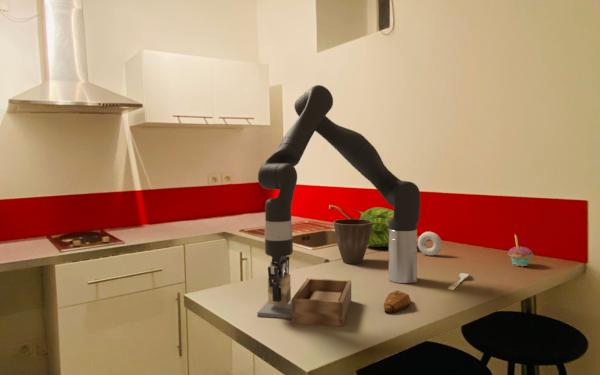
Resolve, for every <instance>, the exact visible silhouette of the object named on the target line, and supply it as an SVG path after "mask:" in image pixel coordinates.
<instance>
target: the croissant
mask: <svg viewBox="0 0 600 375" xmlns="http://www.w3.org/2000/svg"><path fill="white" fill-rule="evenodd" d="M410 302H411V297H410V295H409V294H408V293H405V292H402V291H401V290H395V291H392V292H389V293H388V294H387V296H386V298H385V299H384V303H383V310H384V313H387V314H392V313H396V312H399V311H401V310H403V309H405V308H406V307H407V306H408V305H409V304H410Z"/></svg>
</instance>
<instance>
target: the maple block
mask: <svg viewBox="0 0 600 375" xmlns="http://www.w3.org/2000/svg"><path fill="white" fill-rule="evenodd" d="M279 276H280V275H279ZM274 283H276V280H274ZM291 285H292V284H291V274H289V275H288V274H287V275H284V278H283V279H282V280H281V301H280V302H274V301H273V290H272V287H269V277H268V278H267V288H268V289H267V297H268V300H267V301H268V304H276V305H287V304H288V302H289V301H290V300H291V299H292V297H291V296H292V295H291V292H292V291H291V289H292V287H291Z"/></svg>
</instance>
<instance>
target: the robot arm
mask: <svg viewBox="0 0 600 375" xmlns="http://www.w3.org/2000/svg"><path fill="white" fill-rule="evenodd" d="M333 104H334V97H333V94H332V93H331V91H330V90H329V89H328V88H327V87H325V86H324V85H320V84H318V85H317V84H316V85H314V86H311V87H310V88H308V89H307V90H306V91H305V92H304V93H302V95H300V96H299V97H298V98H297V99H296V100H295V102H294V110H295V112H296V115H297V116H298V118H297V119H296V120H295V122H294V123H293V124H292V125H291V127H290V128H289V129H288V130H287V132H286V134H285V135H284V136H283V138H282V140H281V142H280V144H279V145H278V148H277V149H276V150H275V151H274V152H272V154H271V155H270V156H269V157H268V158H267V159H266V160H265V161H264V162H263V163H262V164H261V165H260V168H259V170H258V174H257V180H258V184H259V185H260V187H262V188H263V189H267V190H279V192H278V195H277V196H276V197H272V198H269V199H267V200H266V201H265V203H264V204H265V205H264V210H265V211H264V212H265V213H264V214H265V215H264V216H265V223H264V253H265V255H266V256H268V257H271V261H270V263H269V264H270V265H269V266H268V267H267V271H268V272H267V273H268V278H269V287H272V290H273V301H274V302H280V301H281V280H282V279H283V278H284V275H287V274H288V275H290V255H292V254H293V251H294V250H293V249H294V248H293V246H294V244H293V224H292V204H293V198H294V194H295V190H296V186H297V182H298V172H297V170H296V166H297V165H298V164H299V163H300V161H301V159H302V156H303V155H304V152H305V150H306V149H307V146H309V145H308V144H309V142H310V141H311V138H313V135H314V133H315V132H316V133H317V134H319V136H321V137H322V138H323V139H324V140H326V141H327V142H328V143H329V144H330V146H332V147H333V148H334V149H335V150H336V151H337V152H338V153H339V154H340V155H341V156H342V157H343V158H344V159H345V160H346V161H347V163H349V164H350V165H351V166H352V167H353V168H354V169H355V170H356V171H357V172H359V173H360V175H362V176H363V177H364V178H365V179H366V180H368V181H369V182H370V183H371V185H372V186H374V187H375V189H376V190H377V191H378V193H379V194H380V195H381V196H382V197H383V199H384V200H385V201H386V202H387V204H389V205H390V206H392V207H393V211H394V216H393V218H392V219H391V220H390V221H389V246H388V271H387V272H388V273H387V274H388V281H390V282H393V283H399V284H410V283H411V284H412V283H417V282H418V250H417V249H418V239H417V238H418V234H417V233H418V224H419V221H420V215H421V214H420V213H421V191H420V188H419V187H418V185H417V184H415V183H414V182H412V181H407V180H401V179H400V178H399V177H397V175H395V174H394V173H392V172H391V171H390V170H389V168H387V166H386V165H385V163H384V161H383V159H382V157H381V156H380V154H379V152H378V150H377V149H376V148H375V147H374V145H373V144H372V143H371V142H370V141H369V140H368V139H367V138H366V137H365V136H364V135H363V134H362V133H359V132H357V131H355V130H352V129H350V128H346V127H344V126H341V125H339V124H336V123H335V122H334V121H332V120H331V119H330V118H329V117H328V116H327V115H328V113H329V111H331V109H332V107H333ZM279 275H280V276H279ZM274 280H276V283H274Z"/></svg>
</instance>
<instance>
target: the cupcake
mask: <svg viewBox="0 0 600 375" xmlns="http://www.w3.org/2000/svg"><path fill="white" fill-rule="evenodd" d="M516 234H517V233H514V239H515V246H514V247H512V248H510V249H509V250H507V255H508V257H510V259H511V262H512V265H513V264H516V265H529V262H530V260H531V259H532V258H534V256H535V255H534V253H533V252H534V251H532V250H531V249H530V248H528V247H525V246H519V244H518V236H517V235H516Z"/></svg>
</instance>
